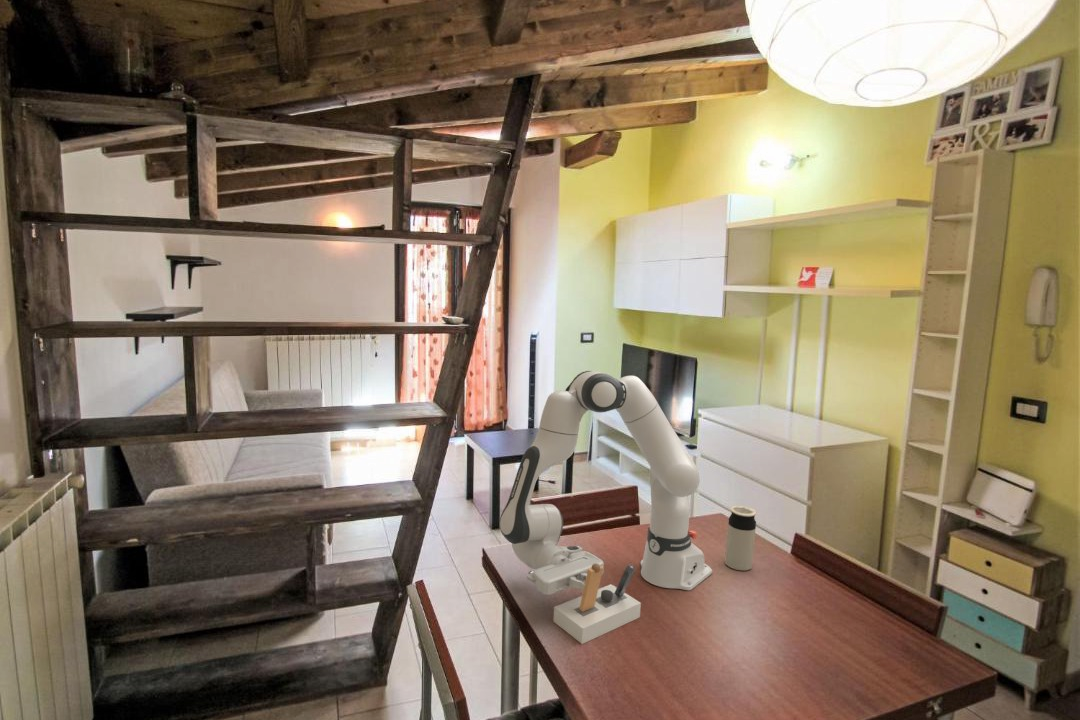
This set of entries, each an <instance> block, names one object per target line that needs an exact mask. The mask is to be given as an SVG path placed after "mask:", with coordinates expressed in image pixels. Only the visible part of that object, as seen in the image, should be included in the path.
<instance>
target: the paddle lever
mask: <svg viewBox="0 0 1080 720" xmlns="http://www.w3.org/2000/svg"><path fill="white" fill-rule="evenodd" d="M602 572H603V567H602V566H601V565H599V564H597V563H595V564H593V565H592V567H591V568H589V569H588V572H587V577H586V581H585V586H584V590H582V595H581V596H582V599H581V603H580V608H579V609H580V610H581V611H582V612H583V611H586V610H588V609H590V608H593V607H594V606H595V601H596V597H597V593H598V589H600V583H601V580H602V576H603V575H602ZM603 573H604V572H603Z"/></svg>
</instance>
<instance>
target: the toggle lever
mask: <svg viewBox="0 0 1080 720" xmlns="http://www.w3.org/2000/svg"><path fill="white" fill-rule="evenodd" d="M635 572H636V568H635V566H634V565H633V564H627V565H626V566H625V569H624V571H623V574H622V575H621V578H620V580H619V582H618V584H617V586H616V588H617V589H616V591H615V594H616V596H617V597H618V598H619V597H622V596H623V594H624V593H626V590H627V588H628V585H629V584H630V581H631V579H632V577H633V575H634V573H635Z"/></svg>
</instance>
